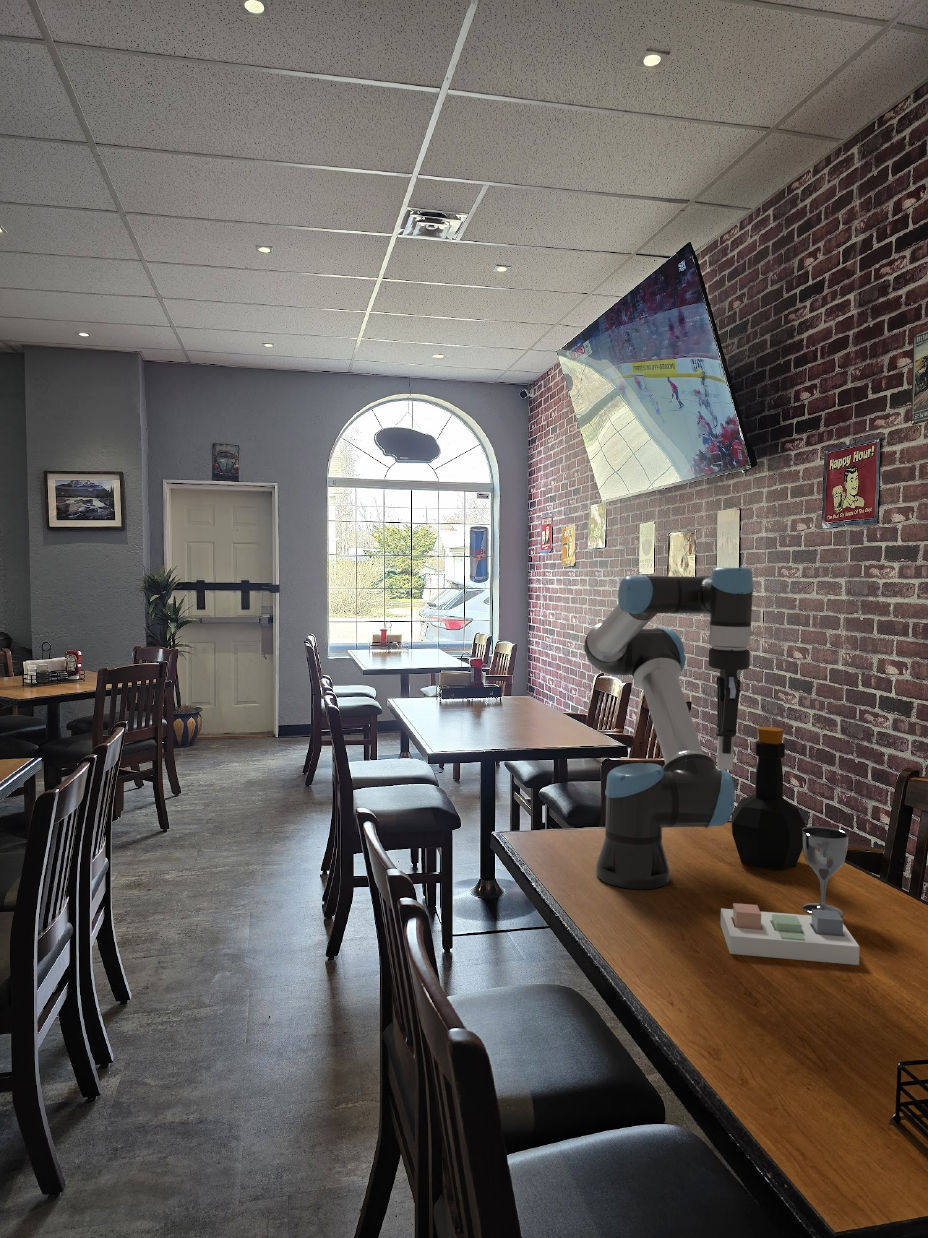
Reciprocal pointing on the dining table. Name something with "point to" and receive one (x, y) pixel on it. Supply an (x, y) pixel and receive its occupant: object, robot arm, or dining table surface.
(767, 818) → the bottle
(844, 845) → the silver goblet
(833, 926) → the slate grey button
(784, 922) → the sage button
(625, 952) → the dining table surface
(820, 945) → the button board
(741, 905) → the salmon pink button
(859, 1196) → the dining table surface
